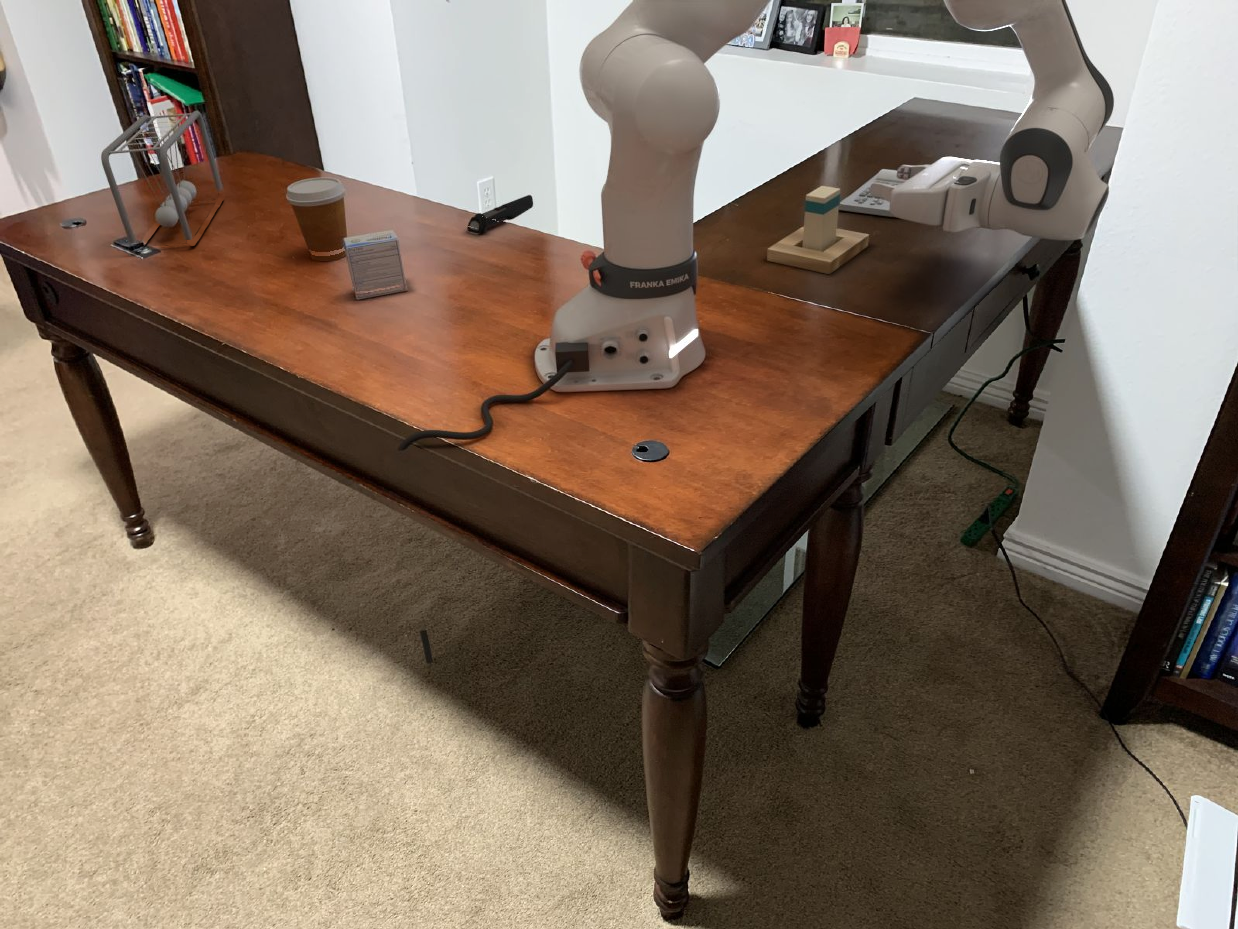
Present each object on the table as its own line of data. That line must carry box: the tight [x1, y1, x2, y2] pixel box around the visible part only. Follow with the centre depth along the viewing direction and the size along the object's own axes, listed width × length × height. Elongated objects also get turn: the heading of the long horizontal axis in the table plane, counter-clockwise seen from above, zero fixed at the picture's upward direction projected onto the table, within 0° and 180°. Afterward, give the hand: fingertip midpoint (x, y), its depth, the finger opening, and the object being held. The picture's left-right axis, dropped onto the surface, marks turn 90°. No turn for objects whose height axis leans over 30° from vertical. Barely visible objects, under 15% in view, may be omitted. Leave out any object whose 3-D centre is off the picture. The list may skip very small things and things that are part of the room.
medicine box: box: [343, 229, 408, 301], centre depth 142 cm, size 8×4×9 cm, turn 111°
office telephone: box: [838, 168, 907, 218], centre depth 169 cm, size 23×3×20 cm
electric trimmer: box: [467, 194, 534, 236], centre depth 168 cm, size 4×16×3 cm, turn 142°
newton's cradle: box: [100, 110, 224, 244], centre depth 170 cm, size 30×10×18 cm, turn 10°
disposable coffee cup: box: [285, 176, 348, 262], centre depth 155 cm, size 10×10×12 cm
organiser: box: [766, 225, 870, 275], centre depth 149 cm, size 14×11×2 cm
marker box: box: [802, 185, 841, 252], centre depth 147 cm, size 6×3×10 cm, turn 143°
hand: (885, 179), depth 137 cm, fingers open, 8 cm apart
